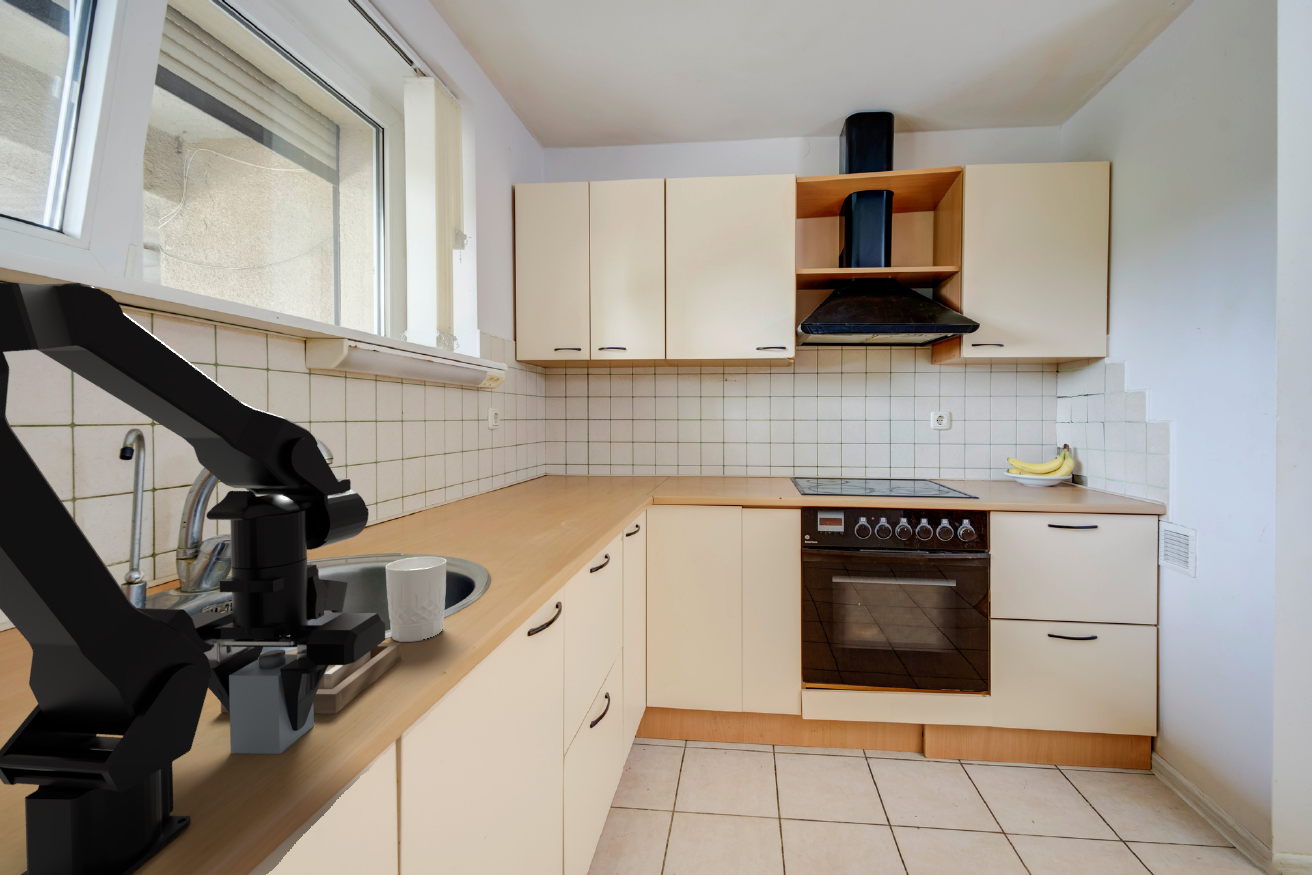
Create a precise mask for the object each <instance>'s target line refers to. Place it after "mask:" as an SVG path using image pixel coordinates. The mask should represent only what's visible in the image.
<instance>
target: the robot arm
mask: <svg viewBox="0 0 1312 875" xmlns="http://www.w3.org/2000/svg"><path fill="white" fill-rule="evenodd" d="M20 351H21V352H22V351H38V352H40V353H42V354H43V355H45V356H47V357H48V358H50V359H51V360H53V361H55V362H57V363H58V364H60V365H62V366H63V367H65V368H67V369H69V371H71V372H74V373H75V374H76V375H78V376H80V377H81V378H83V379H84V380H86V381H88V382H90V383H92V384H93V385H95V386H96V387H98V388H99V389H102V390H103V391H104V392H106V393H108V394H109V395H111V396H113V397H114V398H116V399H118V400H120V401H121V402H123V403H124V404H126V405H128V406H129V407H131V408H132V409H134V410H136V411H138V412H139V413H141V414H142V415H145V416H146V417H147V418H149V419H151V420H152V421H153V422H156V423H158V424H159V425H161V426H163V427H165V428H166V429H167V430H169V431H170V432H172V433H174V434H175V435H177V436H179V437H181V438H182V439H184V441H186V442H187V443H188V444H189V445H191V447H193V450H194V453H195V456H196V458H197V461H198V463H199V464H200V465H201V466H202V467H203V468H204V469H206V470H207V471H208V472H210V473H211V474H212V475H213V476H214V477H215V478H216V479H218V480H219V481H220V482H221V483H223V484H224V485H225V486H227V487H230V488H234V489H245V490H228V492H227V493H226V495H225V496H224V498H222V499H221V501H219V502H218V503H216V504H215V505H214V506H212V508H210V509H209V511H207V512H206V516H205V517H206V518H207V520H210V521H211V520H212V521H230V559H231V560H230V561H231V562H230V563H231V564H230V565H231V576H230V577H227V578H225V579H221V580H219V593H231V606H232V608H231V610H232V611H231V612H229V611H227V612H223V611H221V612H217V611H216V612H215V611H214V612H213V611H210V612H206V611H204V612H202V611H201V612H197V613H195V614H193V615H190V614H189V613H188V612H187V611H186V610H185V609H182V608H155V607H154V608H152V607H149V608H148V607H147V608H146V607H136V606H135V605H134V604H133V603H132V601H130V599H129V597H128V596H127V594H126V593H125V591H124V589H122V587H121V586H120V584H119V583H118V581H117V580H116V578H115V577H114V575H113V574H112V573H111V571H110V570H109V569H108V566H106V563H104V561H103V560H102V557H100V555H99V554H98V552H97V551H96V549H95V548H94V546H93V545H92V544H91V542H90V540H89V539H88V537H87V536H86V535H85V533H84V532H83V531H82V529H81V527H80V526H79V524H78V523H77V522H76V520H75V519H74V517H73V516H72V514H71V513H70V512H69V510H68V508H67V507H66V506H65V504H64V503H63V501H62V500H61V498H60V497H59V496H58V494H57V492H56V491H55V490H54V488H53V487H52V485H51V484H50V482H49V481H48V480H47V478H46V477H45V475H44V473H43V471H41V469H40V467H39V466H38V465H37V463H36V462H35V461H34V458H32V456H31V455H30V453H29V452H28V450H27V449H26V447H25V446H24V444H23V443H22V441H21V440H20V439H19V437H18V436H17V433H15V432H14V430H13V428H12V427H11V425H10V423H9V420H8V419H7V403H8V389H9V378H10V366H9V363H8V361H7V358H6V356H5V353H7V352H8V353H9V352H20ZM318 445H319V443H318V441H317V439H316V437H315V436H314V435H313V434H312V433H311V431H310V430H308V429H307V428H305V427H304V426H301V425H299V424H297V423H296V422H294V421H291V420H289V419H288V418H286V417H284V416H281V415H278V414H274V413H272V412H268V411H266V410H265V411H264V410H262V409H259V408H255V407H252V406H251V405H248V404H247V403H245V402H243V401H241V400H240V399H238V398H237V397H236V396H234V395H233V394H232V393H231V392H229V391H228V390H227V389H225V388H224V387H223V386H221V385H220V384H219V383H218V382H216V381H214V380H213V379H212V378H210V377H209V376H208V375H207V374H205V373H204V372H203V371H201V370H200V369H199V368H197V367H196V366H194V365H193V364H192V363H191V362H189V361H188V360H187V359H186V358H184V357H183V356H182V355H180V354H179V353H178V352H176V351H175V350H174V349H172V348H171V347H170V346H169V345H167V344H165V342H164V341H162V340H160V339H159V338H158V337H156V336H155V335H154V334H152V333H151V332H150V331H148V330H147V329H146V328H144V327H143V325H140V324H139V323H137V322H136V321H135V320H134V319H132V318H131V317H130V316H128V315H127V314H126V313H125V312H124V311H123V309H122V307H121V305H120V303H119V302H118V301H117V300H116V299H115V298H114V297H113V296H112V294H109V293H107V292H106V291H104V290H102V289H100V288H96V287H94V286H92V285H87V284H84V283H80V282H71V283H69V282H68V283H67V282H66V283H65V282H64V283H46V284H45V283H44V284H42V283H41V284H32V283H20V282H0V610H1V612H2V613H3V614H4V615H5V617H7V619H8V620H9V621H10V622H11V624H12V625H13V626H14V628H16V629H17V631H18V632H19V633H20V634H21V635H22V636H23V638H24V639H25V641H27V642H28V644H29V646H30V648H31V651H32V656H31V666H30V674H29V681H28V684H29V688H30V690H31V691H32V694H33V695H34V698H35V700H36V702H37V705H36V706H35V707H34V708H33V709H32V711H31V712H30V713H29V714H28V715H27V717H26V718H25V719H24V720H23V721H22V723H21V724H20V725H19V726H18V728H16V730H15V731H14V733H13V734H12V735H11V736H10V737H9V738H8V740H7V741H6V742H5V743H4V744H3V746H2V747H1V748H0V780H1V782H2V783H3V784H4V785H7V786H9V785H11V786H15V785H17V784H18V785H19V784H20V785H30V786H31V785H32V786H38V787H37V789H36V790H35V791H32V792H31V793H29V794H28V795H26V796H25V798H24V807H25V809H24V810H25V811H24V812H25V815H24V816H25V843H26V844H25V846H26V847H25V848H26V851H25V852H26V871H24V872H22V873H21V874H20V875H129V874H130V875H131V874H133V872H135V871H134V870H137V869H138V868H140V867H141V866H142V865H143V864H144V863H145V862H147V861H148V860H149V859H150V858H152V857H153V856H155V855H156V854H157V853H158V852H159V851H160V850H161V849H163V848H164V847H165V846H166V845H168V844H169V843H170V842H171V841H173V839H175V838H176V837H177V836H178V835H180V834H181V833H182V832H184V831H185V830H186V829H187V828H189V826H190V825H191V824H192V819H191V816H189V815H171V813H172V812H173V811H174V779H173V778H174V777H173V776H174V775H173V773H174V772H173V771H174V770H173V762H174V761H176V760H178V759H180V758H181V757H182V756H184V755H186V754H187V753H189V752H190V751H191V750H192V748H193V747H192V746H193V743H194V740H195V736H196V732H197V730H198V726H199V722H200V718H201V715H202V711H203V707H204V704H205V701H206V696H207V693H208V689H209V691H210V692H212V694H213V695H214V696H215V698H217V699H218V701H219V702H220V704H221V703H222V705H223V706H224V707H225V708H226V710H227V711H228V712H227V713H228V714H229V715H230V696H229V675H231V674H233V673H234V672H236V671H238V670H240V669H242V668H243V667H245V666H247V665H249V664H251V663H252V662H254V661H256V660H258V659H259V656H260V655H261V654H262V651H263V650H264V648H296V649H297V652H298V653H297V659H295V660H294V661H292V662H290V663H289V664H287V665H285V666H284V667H282V668H280V673H281V678H282V684H283V689H284V694H285V700H286V705H287V711H288V716H289V720H290V723H291V726H292V729H293V731H298V730H300V729H301V728H302V727H303V726H304V725H305V723H306V720H307V717H308V715H309V712H310V709H311V707H312V704H313V701H314V698H315V696H316V693H317V690H318V687H319V685H320V682H321V680H322V678H323V676H324V674H325V672H326V670H327V668H328V666H329V665H347V664H351V663H354V662H356V661H357V660H358V659H360V658H361V657H363V656H364V655H365V654H367V653H368V652H369V651H371V650H372V649H374V648H375V647H376V646H378V645H379V644H380V643H384V642H385V641H386V623H385V621H384V619H383V618H382V616H380V614H379V613H377V612H343V611H344V605H345V600H346V595H347V591H348V590H347V589H348V584H349V582H348V581H341V580H332V579H322V578H320V577H319V572H320V571H319V568H318V566H317V564H308V551H311V550H315V549H319V548H323V547H326V546H329V545H332V544H333V545H334V544H337V543H339V542H343V541H345V540H349V539H352V538H354V537H357V536H359V535H360V534H361V533H362V532H363V530H364V529H365V528H366V526H367V524H368V521H369V509H368V507H367V505H366V502H365V501H364V499H363V497H362V496H361V495H360V494H359V493H358V492H357V491H355V490H353V489H352V488H351V484H352V483H351V482H352V481H351V479H350V478H337V477H336V475H335V473H334V472H333V470H332V469H331V466H330V465H329V462H327V460H326V458H325V456H324V454H323V453H322V451H321V450H320V448H319V446H318ZM325 611H326V612H327V611H330V612H332V614H334V613H335V614H337V613H338V614H339V615H337V616H335V617H334V618H332V619H330V620H328V621H327V622H324V623H323V624H320V625H319V624H314V625H313V624H309V622H310V621H311V620H318V619H319V618H322V617H323V616H325ZM340 613H341V614H340ZM98 735H99V736H98ZM100 735H104V736H100ZM105 735H106V736H105ZM115 736H121V737H115ZM136 868H137V869H136Z"/></svg>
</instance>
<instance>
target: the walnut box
mask: <svg viewBox="0 0 1312 875" xmlns="http://www.w3.org/2000/svg"><path fill="white" fill-rule="evenodd" d="M297 653H298V652H297V648H295V649H294V650H292V651H290V652H288V653H287V654H297ZM401 660H402V642H382V643H380V644H379V645H378V646H376V647H375V648H374V649H372V650H371V651H369V652H368V653H367V654H365V655H364V656H363V657H361V658H360V659H358V660H357V661H356V662H354V663H351V664H347V665H329V666H328V668H327V670H326V672H325V674H324V676H323V678H322V680H321V682H320V685H319V687H318V690H317V693H316V696H315V698H314V701H313V711H314V714H329V715H331V714H332V715H333V714H334V715H336V714H337V713H338V712H340V711H341V710H342V709H343V708H345V707H346V706H347V705H348V704H349V703H350V702H352V701H353V700H354V699H355V698H356V697H357V696H359V695H360V694H361V693H362V692H363V691H365V690H366V689H367V688H369V687H370V686H371V685H372V684H374V682H376V680H378V679H379V678H380V677H381V676H383V675H384V674H385V673H386V672H387V671H389V670H390V669H391V668H392V667H393V666H395V664H397V663H398V662H399V661H401ZM220 713H229V712H228V711H227V710H226V708H225V707H224V706H223V705H222V703H221V702H220Z"/></svg>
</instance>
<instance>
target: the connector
mask: <svg viewBox="0 0 1312 875" xmlns="http://www.w3.org/2000/svg"><path fill="white" fill-rule="evenodd" d="M295 659H297V654H288V653H286V650H285V649H272V650H267V651H265V652H263V653H261V654H260V656H259V659H258V660H256V661H254V662H252V663H251V664H249V665H247V666H245V667H243V668H242V669H240V670H238V671H236V672H234V673H233V674H231V675H229V696H230V714H229V728H230V729H229V730H230V731H229V732H230V754H247V755H248V754H254V755H255V754H257V755H258V754H260V755H261V754H262V755H264V754H265V755H280V754H283V752H284V751H286V750H287V749H288V748H289V747H290V746H292V745H293V744H294V743H295V742H296V741H298V740H299V739H300V738H301V737H302V736H303V735H305V734H306V733H307V732H309V731H310V730H311V729H312V728H313V727H314V726H315V725H314V724H315V722H314V714H315V713H314V711H313V704H312V707H311V709H310V712H309V715H308V717H307V720H306V723H305V725H304V726H303V727H302V728H301V729H300V730H298V731H293V729H292V726H291V723H290V720H289V716H288V711H287V705H286V700H285V694H284V689H283V684H282V678H281V673H280V668H282V667H284V666H285V665H287V664H289V663H290V662H292V661H294V660H295Z"/></svg>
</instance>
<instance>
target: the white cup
mask: <svg viewBox="0 0 1312 875" xmlns="http://www.w3.org/2000/svg"><path fill="white" fill-rule="evenodd" d="M447 563H448V562H447V558H445V557H440V556H414V557H407V558H401V559H398V560H395V561H391V562H389V563H387V564H386V565H385V580H386V581H385V582H386V596H387V597H386V598H387V608H388V618H389V620H390V622H389V624H390V636H391V639H392V640H393V641H397V642H398V643H403V642H404V643H412V642H413V643H414V642H420V641H424V640H423V639H425V640H428V639H427V638H429V639H431V638H430V637H432V638H434V637H435V636H434V635H436V636H438V635H439V634H438V633H440V632H441V631H443V630H444V621H445V619H444V618H445V615H444V613H445V607H446V602H445V600H446V592H447V591H446V590H447V589H446V588H447ZM442 629H443V630H442ZM441 633H442V632H441ZM441 633H440V634H441ZM437 634H438V635H437ZM433 636H434V637H433Z"/></svg>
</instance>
